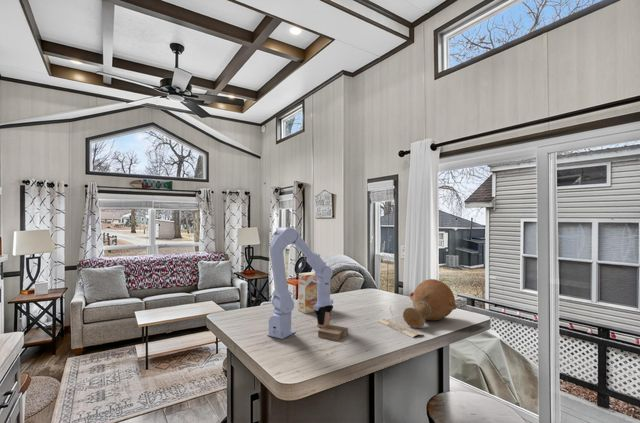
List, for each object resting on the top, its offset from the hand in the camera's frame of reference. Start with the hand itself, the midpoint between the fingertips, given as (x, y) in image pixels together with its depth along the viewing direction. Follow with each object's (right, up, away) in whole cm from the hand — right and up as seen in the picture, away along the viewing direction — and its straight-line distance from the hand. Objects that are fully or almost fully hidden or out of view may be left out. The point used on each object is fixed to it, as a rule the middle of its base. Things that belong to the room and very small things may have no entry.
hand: (323, 323), depth 145 cm
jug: (+49, -2, +9) cm, 49 cm away
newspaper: (+33, -3, -2) cm, 33 cm away
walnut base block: (+4, -2, -11) cm, 12 cm away
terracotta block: (0, -1, 0) cm, 1 cm away
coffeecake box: (-5, -3, +27) cm, 28 cm away
